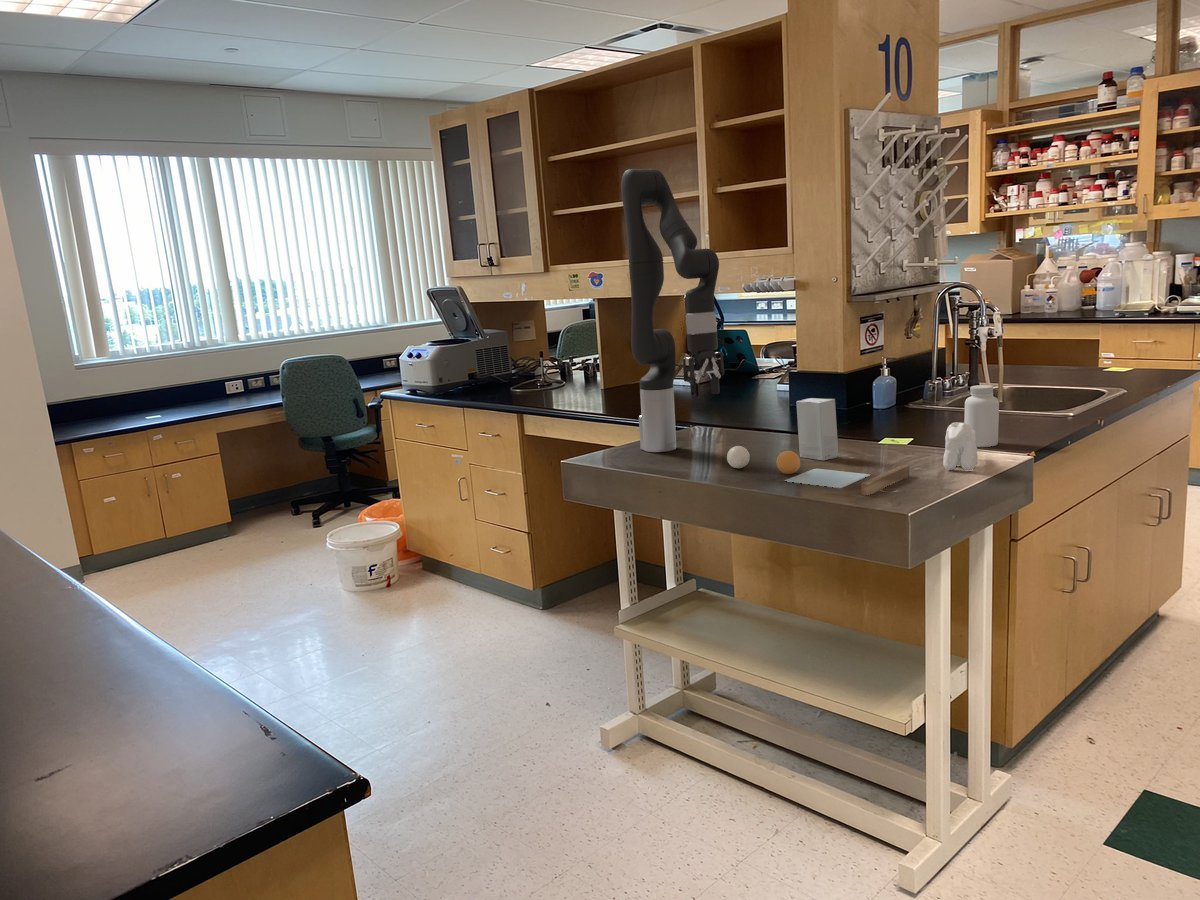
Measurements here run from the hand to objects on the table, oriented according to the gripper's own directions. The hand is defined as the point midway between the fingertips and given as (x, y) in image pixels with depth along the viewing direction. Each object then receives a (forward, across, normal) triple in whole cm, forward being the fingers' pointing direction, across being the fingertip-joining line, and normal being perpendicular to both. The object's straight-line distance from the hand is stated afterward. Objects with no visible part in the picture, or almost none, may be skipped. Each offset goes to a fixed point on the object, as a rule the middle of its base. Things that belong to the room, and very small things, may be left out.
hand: (705, 396), depth 219 cm
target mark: (+18, +2, +34) cm, 38 cm away
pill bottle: (+19, -47, +51) cm, 72 cm away
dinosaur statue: (+19, -21, +56) cm, 63 cm away
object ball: (+15, +2, +24) cm, 28 cm away
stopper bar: (+19, +3, +48) cm, 51 cm away
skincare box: (+18, -17, +21) cm, 32 cm away
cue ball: (+15, +2, +10) cm, 18 cm away
